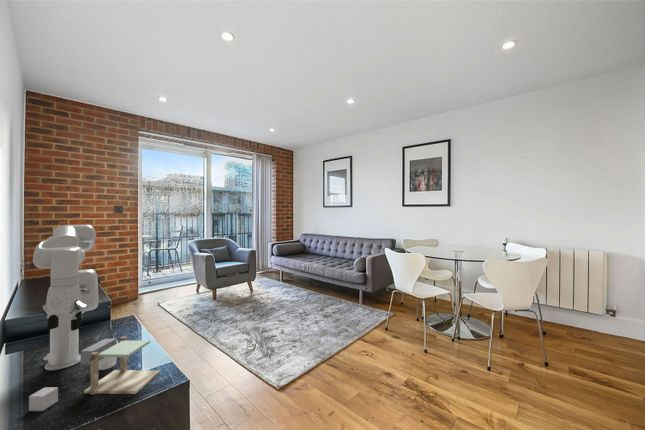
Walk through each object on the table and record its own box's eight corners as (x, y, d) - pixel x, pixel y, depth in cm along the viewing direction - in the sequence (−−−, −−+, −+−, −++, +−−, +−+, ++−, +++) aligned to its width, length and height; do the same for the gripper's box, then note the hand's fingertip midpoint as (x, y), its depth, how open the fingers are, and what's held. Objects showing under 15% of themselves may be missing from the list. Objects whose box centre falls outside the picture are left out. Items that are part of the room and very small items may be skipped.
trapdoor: (79, 364, 102) (79, 351, 102) (106, 349, 114) (106, 338, 114) (128, 365, 101) (128, 351, 101) (149, 350, 113) (150, 338, 113)
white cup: (121, 363, 122) (122, 341, 123) (102, 372, 115) (103, 348, 115) (110, 360, 125) (110, 338, 125) (90, 369, 118) (91, 346, 118)
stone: (28, 411, 92) (29, 396, 92) (44, 401, 97) (44, 387, 97) (42, 411, 91) (43, 396, 92) (57, 401, 96) (58, 387, 97)
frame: (80, 395, 99) (81, 354, 100) (117, 370, 116) (117, 335, 116) (132, 396, 98) (132, 355, 99) (162, 371, 115) (162, 335, 116)
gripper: (32, 284, 96) (32, 332, 96) (74, 284, 94) (74, 333, 94) (56, 279, 104) (55, 324, 103) (95, 280, 102) (95, 325, 101)
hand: (64, 328), depth 98 cm, fingers open, 9 cm apart
